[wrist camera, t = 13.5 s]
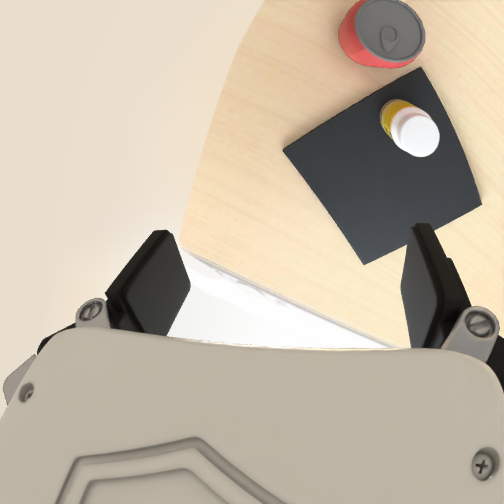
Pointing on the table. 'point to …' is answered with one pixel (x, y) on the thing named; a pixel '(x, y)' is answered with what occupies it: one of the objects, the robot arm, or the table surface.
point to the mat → (385, 171)
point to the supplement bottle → (409, 127)
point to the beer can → (382, 33)
